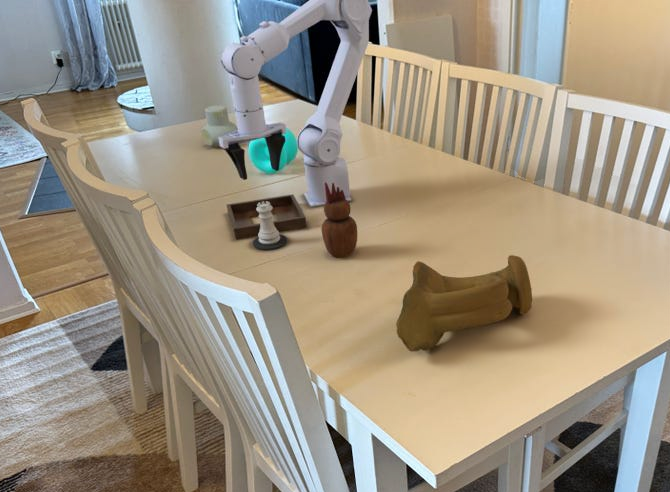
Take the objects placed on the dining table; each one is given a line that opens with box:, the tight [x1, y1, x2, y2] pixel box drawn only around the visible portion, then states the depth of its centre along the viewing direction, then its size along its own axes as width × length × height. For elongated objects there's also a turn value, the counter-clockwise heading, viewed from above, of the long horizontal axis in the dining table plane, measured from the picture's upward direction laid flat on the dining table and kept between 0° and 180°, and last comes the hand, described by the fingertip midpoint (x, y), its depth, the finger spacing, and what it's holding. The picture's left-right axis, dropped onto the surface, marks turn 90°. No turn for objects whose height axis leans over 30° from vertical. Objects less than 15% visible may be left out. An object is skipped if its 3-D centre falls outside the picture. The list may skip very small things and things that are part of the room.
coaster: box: [252, 233, 288, 251], centre depth 140 cm, size 7×7×1 cm
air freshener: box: [200, 104, 238, 148], centre depth 190 cm, size 11×8×10 cm
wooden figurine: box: [320, 182, 358, 258], centre depth 130 cm, size 7×6×15 cm
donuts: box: [248, 127, 299, 175], centre depth 173 cm, size 10×10×10 cm
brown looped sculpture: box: [396, 254, 533, 353], centre depth 108 cm, size 18×13×22 cm
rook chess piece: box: [256, 201, 280, 245], centre depth 137 cm, size 4×4×8 cm
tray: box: [226, 194, 308, 241], centre depth 148 cm, size 15×14×2 cm
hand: (259, 173), depth 146 cm, fingers open, 7 cm apart
